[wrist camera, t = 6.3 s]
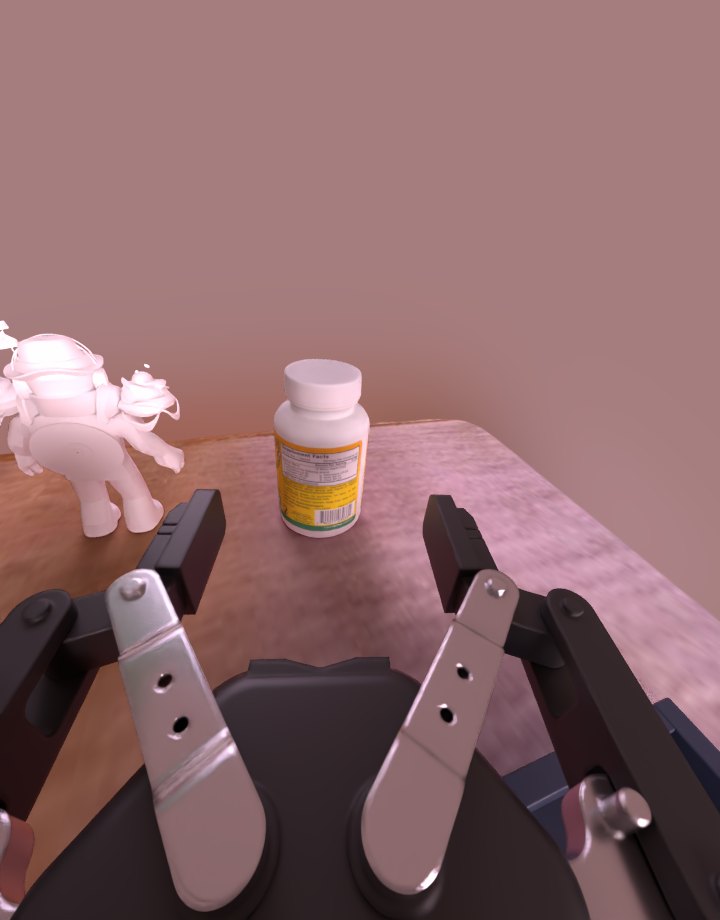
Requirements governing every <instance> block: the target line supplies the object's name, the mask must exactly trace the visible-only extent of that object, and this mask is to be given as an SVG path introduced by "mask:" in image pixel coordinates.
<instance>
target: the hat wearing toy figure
mask: <svg viewBox="0 0 720 920" xmlns="http://www.w3.org/2000/svg"><path fill="white" fill-rule="evenodd" d="M7 328H9V327H8V326H7V324H6V323H5V321H0V330H2V329H7ZM40 335H53V336H40ZM40 335H36V336H39V337H36V336H33V337H31V338H28V339H25V340H23V341H20V342H18V341H17V340H16V339H14V338H12V337H10V336H8V335H6V334H4V333H3V331H2V332H0V349H6V348H12V347H17V349H16V350H15V352H14V350H13V349H12V350H13V352H14V354H15V355H14V354H13V357H12V362H11V363H9V364H8V365H6V366H5V368H4V371H3V372H4V375H5V376H6V377H7V378H9V379H12V381H13V384H12V383H11V382H10V380H9V379H6V378H1V377H0V426H1V423H2V420H3V418H4V417H5V416H11V415H13V414H15V413H17V412H19V413H20V414H19V415H17V416H15V417H14V418H13V419H12V420H11V421H10V422H9V427H8V433H9V434H8V437H7V443H8V447H9V449H10V450H11V451H12V452H13V453H14V454H15V458H16V461H17V463H18V468H19V469H20V470H21V471H22V472H23V473H25V474H27V475H29V476H34V475H35V473H37V474H40V473H42V472H43V471H44V470H43V469H42V468H41V466H40V465H39V464H38V463H40V464H41V465H42V466H43V467H45V468H47V469H49V470H51V471H53V472H56V473H58V474H61V475H65V476H66V479H67V480H70V482H71V485H72V487H73V489H74V491H75V493H76V494H77V496H78V498H79V500H80V512H81V521H82V525H83V531H84V534H85V535H86V536H88V537H100V536H104V535H107V534H109V533H111V532H113V531H114V530H115V529H116V527H117V526H118V522H117V521H118V519H119V518H120V517H121V512H120V510H119V508H118V507H117V506H116V505H115V504H113V503H110V499H109V496H108V493H107V489H106V486H105V481H109V482H110V484H111V485H112V486H113V487H114V488H115V489H116V490H117V491H118V492H119V493H120V494H121V495H122V497H123V508H124V515H125V520H126V526H127V528H128V530H129V531H131V532H134V533H140V532H147V531H149V530H151V529H153V528H154V527H155V526H156V525H157V524H158V523H159V521H160V520H161V518H162V516H163V513H164V510H163V506H162V505H161V503H160V502H159V501H157V500H155V499H152V497H151V494H150V492H149V489H148V487H147V485H146V483H145V481H144V479H143V477H142V475H141V473H140V472H139V470H138V468H137V467H136V465H135V464H134V462H133V461H132V459H131V457H130V456H129V454H128V453H127V450H126V448H125V443H124V438H125V439H126V440H127V442H128V443H130V445H131V446H132V447H133V448H134V449H135V450H137V451H140V452H141V453H144V454H147V455H150V456H154V459H155V461H156V462H157V464H159V465H161V466H165V467H168V468H171V469H173V470H174V471H175V473H179V472H180V470H181V469H182V468H183V467H184V466H185V462H184V453H183V451H182V450H181V449H178V448H175V447H172V446H170V445H168V444H167V443H165V442H164V441H163V440H162V439H161V438H160V437H158V436H157V435H155V434H154V433H152V432H150V431H151V430H152V429H153V428H154V426H155V425H156V423H157V421H158V418H159V415H160V413H161V412H166V413H168V414H169V415H170V416H171V417H172V418H174V419H176V420H178V419H179V418H180V407H179V404H178V400H177V399H176V398H175V397H174V396H173V394H171V393H170V392H168V390H167V389H168V388H169V387H168V386H165V385H166V381H165V380H164V379H153V378H152V376H151V375H150V374H149V373H146V372H138V370H135V374H134V375H133V376H132V380H131V381H127V380H125V379H124V378H122V379H121V382H122V384H123V387H122V389H121V388H120V387H118V386H114V385H112V384H111V383H110V382H108V378H107V375H106V372H105V370H104V368H101V367H102V365H103V357H102V356H100V355H96V354H92V353H91V352H90V350H89V349H87V348H86V347H85V346H84V345H83V344H81V343H80V342H78V341H76V340H74V339H72V338H70V337H67V336H63V335H58V334H40ZM74 341H76V342H77V343H79V344H80V345H82V346H83V347H85V348H86V349H87V350H88V351H89V352H90V353H91V354H89V353H88V352H87V351H86V350H84V349H83V348H81V347H80V346H78V345H76V343H75V342H74ZM79 348H80V349H81V350H83V351H81V350H80V349H79ZM17 352H18V357H17V356H16V354H17ZM16 357H17V359H16ZM13 358H14V362H13ZM145 367H147V368H149V366H148V365H145ZM174 401H176V402H177V407H178V409H177V412H175V413H170V412H168V411H167V410H165V409H166V408H168V407H170V406H171V405H173V404H174ZM156 414H157V416H156V417H155V419H154V420H152V421H151V422H150V423H145V422H144V421H143V419H142V418H141V417H150V416H153V415H156ZM37 462H38V463H37Z"/></svg>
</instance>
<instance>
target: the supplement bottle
mask: <svg viewBox="0 0 720 920" xmlns="http://www.w3.org/2000/svg"><path fill="white" fill-rule="evenodd" d="M361 377H362V376H361V372H360V371H359V369H357V368H356V367H354V366H352V365H350V364H347V363H344V362H340V361H334V360H325V359H308V360H301V361H297V362H293V363H291V364H289V365H288V366H287V367H286V368H285V370H284V391H285V394H286V397H287V399H288V400H287V401H285V402H284V403H283V404H282V405H281V406H280V407H279V408H278V410H277V411H276V413H275V417H274V437H275V453H276V467H277V477H278V493H279V505H280V512H281V516H282V519H283V521H284V522H285V524H286V525H287V526H288V527H289V528H290V529H292V530H293V531H295V532H297V533H299V534H302V535H305V536H308V537H313V538H325V537H332V536H336V535H339V534H341V533H343V532H345V531H347V530H348V529H350V528H351V527H352V526H353V525H354V524H355V523H356V521H357V520H358V518H359V515H360V511H361V504H362V494H363V483H364V474H365V464H366V454H367V445H368V436H369V418H368V415H367V413H366V411H365V410H364V409H363V407H362V406H361V405H360V404H358V403H357V402H358V400H359V397H360V396H361V379H362V378H361Z"/></svg>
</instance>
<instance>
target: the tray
mask: <svg viewBox="0 0 720 920" xmlns="http://www.w3.org/2000/svg"><path fill="white" fill-rule="evenodd" d="M653 707H654V708H655V710H656V712H657V713H658V715H659V716H660V718H661V720H662V721H663V723H664V725H665V726H666V728H667V729H668V731H669V733H670V734H671V736H672V738H673V739H674V741H675V742H676V744H677V746H678V747H679V749H680V751H681V752H682V754H683V755H684V757H685V759H686V760H687V762H688V764H689V765H690V767H691V768H692V770H693V772H694V773H695V775H696V777H697V778H698V780H699V781H700V783H701V785H702V786H703V788H704V789H705V791H706V793H707V794H708V796H709V798H710V799H711V801H712V802H713V804H714V806H715V807H716V809H717V811H718V812H719V814H720V752H719V751H718V749H717V748H716V747H715V746H714V745H713V744H712V743H711V742H710V741H709V740H708V739H707V738H706V737H705V736H704V735H703V733H702V732H701V731H700V730H699V729H698V728H697V727H696V726H695V725H694V724H693V723H692V722H691V721H690V720H689V719H688V718H687V716H686V715H685V714H684V713H683V712H682V711H681V710H680V709H679V708H678V707H677V706H676V705H675V704H674V703H673V702H672V700H671V699H669V698H665V699H663V700H661V701H658V702H656V703H654V704H653ZM502 779H503V780H504V781H505V782H506V783H507V784H508V786H509V787H510V788H511V789H512V790H513V791H514V793H515V794H516V795H517V796H518V797H519V799H520V800H521V801H522V802H523V803H524V804H525V806H526V807H527V808H528V809H529V810H530V811H531V813H532V814H533V815H534V816H535V817H536V818H537V820H538V821H539V822H540V823H541V824H542V826H543V827H544V828H545V829H546V830H547V831H548V833H549V834H550V835H551V836H552V837H553V839H554V840H555V841H556V843H557V844H558V846H559V847H560V849H561V850H562V852H563V853H564V855H565V851H566V833H565V829H564V824H563V820H562V814H561V804H562V799H563V797H564V795H565V794H566V792H567V791H569V787H568V784H567V781H566V779H565V776H564V773H563V771H562V768H561V765H560V763H559V760H558V757H557V755H556V752H555V751H554V752H552V753H550V754H548V755H546V756H544V757H542V758H540V759H538V760H536V761H534V762H532V763H529V764H527V765H525V766H523V767H521V768H519V769H517V770H515V771H513V772H511V773H509V774H507V775H505V776H502Z"/></svg>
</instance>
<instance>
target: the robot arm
mask: <svg viewBox="0 0 720 920" xmlns="http://www.w3.org/2000/svg"><path fill="white" fill-rule="evenodd" d="M225 529H226V520H225V514H224V509H223V504H222V499H221V494H220V491H219V490H217V489H197V490H196V491H195V492H194V494H193V496H192V498H191V499H190V501H189V503H180V504H179V505H177V506H176V507H175V508H174V509H172V510H171V511H170V512H169V513H168V515H167V517H166V518H165V520H164V522H163V523H162V526H161V527H160V528H159V530H158V532H157V535H155V537H154V538H153V540H152V542H151V543H150V545H149V547H148V548H147V550H146V552H145V554H144V555H143V557H142V559H141V560H140V562H139V564H138V565H137V567H136V569H135V570H134V571H131V572H128V573H126V574H124V575H122V576H121V577H119V578H118V579H116V580H115V581H114V582H113V583H112V584H111V585H110V587H109V588H108V590H105V591H101V592H98V593H94V594H90V595H86V596H82V597H78V598H74V599H72V598H71V596H70V595H69V593H68V592H66V591H64V590H60V589H53V590H47V591H43V592H40V593H37V594H35V595H33V596H31V597H29V598H27V599H25V600H24V601H22V602H21V603H20V604H18V605H17V606H16V607H15V608H14V609H13V610H12V611H11V612H10V613H9V614H8V616H7V617H6V618H5V619H4V621H3V622H2V623H1V625H0V920H720V814H719V812H718V811H717V809H716V807H715V806H714V804H713V802H712V801H711V799H710V798H709V796H708V794H707V793H706V791H705V789H704V788H703V786H702V785H701V783H700V781H699V780H698V778H697V777H696V775H695V773H694V772H693V770H692V768H691V767H690V765H689V764H688V762H687V760H686V759H685V757H684V755H683V754H682V752H681V751H680V749H679V747H678V746H677V744H676V742H675V741H674V739H673V738H672V736H671V734H670V733H669V731H668V729H667V728H666V726H665V725H664V723H663V721H662V720H661V718H660V716H659V715H658V713H657V712H656V710H655V708H654V707H653V705H652V703H651V702H650V700H649V699H648V697H647V695H646V694H645V692H644V691H643V689H642V687H641V686H640V684H639V682H638V681H637V679H636V678H635V676H634V674H633V673H632V671H631V669H630V668H629V666H628V665H627V663H626V661H625V660H624V658H623V656H622V655H621V653H620V652H619V650H618V648H617V647H616V645H615V643H614V642H613V640H612V639H611V637H610V635H609V634H608V632H607V630H606V629H605V627H604V626H603V624H602V622H601V621H600V619H599V617H598V616H597V614H596V613H595V611H594V609H593V608H592V607H591V605H590V604H589V603H588V602H587V601H586V600H585V599H584V598H582V597H581V596H580V595H578V594H576V593H574V592H572V591H570V590H566V589H561V588H559V589H553V590H551V591H550V592H549V593H548V595H547V596H546V597H545V596H542V595H538V594H535V593H531V592H527V591H524V590H521V589H519V588H517V586H516V584H515V583H514V582H513V580H512V579H511V578H509V577H508V576H507V575H505V574H504V573H502V572H499V571H498V569H497V566H496V564H495V562H494V560H493V558H492V556H491V554H490V552H489V550H488V548H487V546H486V543H485V541H484V539H482V535H481V533H480V531H479V530H478V527H477V525H476V522H475V520H474V518H473V517H472V516H471V515H470V514H469V513H468V512H467V511H466V510H465V509H464V508H456V506H455V503H454V501H453V499H452V497H451V495H430V497H429V501H428V505H427V509H426V513H425V517H424V522H423V538H424V542H425V546H426V549H427V553H428V556H429V560H430V563H431V567H432V570H433V574H434V577H435V581H436V584H437V588H438V591H439V595H440V598H441V602H442V606H443V609H444V613H455V615H456V617H455V619H453V621H452V623H451V625H450V627H449V629H448V631H447V633H446V636H445V638H444V640H443V642H442V644H441V646H440V648H439V650H438V652H437V654H436V656H435V658H434V660H433V663H432V665H431V667H430V669H429V671H428V673H427V675H426V677H425V679H424V681H423V683H422V685H421V684H420V683H419V682H418V681H417V680H415V679H414V678H412V677H411V676H409V675H408V674H406V673H404V672H402V671H399V670H397V669H394V668H390V661H389V657H355V658H352V659H349V660H346V661H342V662H339V663H336V664H332V665H329V666H326V667H320V668H319V667H314V666H310V665H307V664H303V663H299V662H295V661H291V660H287V659H258V660H250V663H249V668H248V671H246V672H243V673H241V674H238V675H236V676H234V677H232V678H230V679H228V680H227V681H225V682H223V683H222V684H221V685H219V686H218V687H216V688H215V689H214V690H213V691H211V689H210V687H209V684H208V682H207V680H206V678H205V675H204V673H203V671H202V669H201V666H200V664H199V662H198V660H197V657H196V655H195V653H194V651H193V648H192V646H191V644H190V642H189V639H188V637H187V635H186V633H185V630H184V628H183V626H182V624H181V619H182V617H183V615H190V614H196V611H197V609H198V606H199V603H200V600H201V598H202V595H203V592H204V590H205V587H206V584H207V581H208V579H209V576H210V573H211V571H212V568H213V565H214V562H215V560H216V557H217V554H218V551H219V549H220V546H221V543H222V541H223V538H224V535H225ZM504 653H505V654H509V655H512V656H515V657H518V658H521V661H522V664H523V666H524V669H525V672H526V674H527V677H528V680H529V682H530V685H531V688H532V691H533V693H534V696H535V699H536V701H537V704H538V707H539V709H540V712H541V715H542V717H543V720H544V723H545V725H546V728H547V731H548V733H549V736H550V739H551V741H552V744H553V747H554V749H555V752H556V755H557V757H558V760H559V763H560V765H561V768H562V771H563V773H564V776H565V779H566V781H567V784H568V787H569V791H567V792H566V794H565V795H564V797H563V799H562V804H561V814H562V820H563V824H564V829H565V833H566V851H565V855H564V853H563V852H562V850H561V849H560V847H559V846H558V844H557V843H556V841H555V840H554V839H553V837H552V836H551V835H550V834H549V833H548V831H547V830H546V829H545V828H544V827H543V826H542V824H541V823H540V822H539V821H538V820H537V818H536V817H535V816H534V815H533V814H532V813H531V811H530V810H529V809H528V808H527V807H526V806H525V804H524V803H523V802H522V801H521V800H520V799H519V797H518V796H517V795H516V794H515V793H514V791H513V790H512V789H511V788H510V787H509V786H508V784H507V783H506V782H505V781H504V780H503V779H502V777H501V776H500V775H499V774H498V773H497V771H496V770H495V769H494V768H493V767H492V766H491V764H490V763H489V762H488V761H487V760H486V759H485V757H484V756H483V755H482V754H481V753H480V752H479V750H478V749H477V748H476V747H475V746H476V743H477V740H478V737H479V734H480V730H481V727H482V724H483V721H484V717H485V714H486V711H487V708H488V705H489V701H490V698H491V695H492V692H493V689H494V685H495V682H496V679H497V676H498V673H499V669H500V666H501V663H502V660H503V656H504ZM117 661H118V665H119V669H120V672H121V676H122V680H123V683H124V687H125V691H126V695H127V698H128V702H129V706H130V710H131V713H132V717H133V721H134V724H135V728H136V732H137V736H138V739H139V743H140V747H141V750H142V754H143V758H144V762H145V763H144V764H143V765H142V766H141V767H140V768H139V770H138V771H137V772H136V773H135V774H134V775H133V776H132V777H131V778H130V779H129V780H128V781H127V782H126V784H125V785H124V786H123V787H122V788H121V789H120V790H119V791H118V792H117V793H116V794H115V795H114V797H113V798H112V799H111V800H110V801H109V802H108V803H107V804H106V805H105V806H104V807H103V808H102V809H101V811H100V812H99V813H98V814H97V815H96V816H95V817H94V818H93V819H92V820H91V821H90V822H89V824H88V825H87V826H86V827H85V828H84V829H83V830H82V831H81V832H80V833H79V834H78V835H77V836H76V838H75V839H74V840H73V841H72V842H71V843H70V844H69V845H68V846H67V847H66V848H65V849H64V850H63V852H62V853H61V854H60V855H59V856H58V857H57V858H56V859H55V860H54V861H53V862H52V863H51V865H50V866H49V867H48V868H47V869H46V870H45V871H44V872H43V873H42V874H41V876H40V877H39V878H38V879H37V880H36V882H35V883H34V884H33V886H32V887H31V888H30V890H29V891H28V892H27V894H26V895H25V877H26V872H27V869H28V866H29V863H30V860H31V857H32V854H33V849H34V843H35V837H34V831H33V829H32V827H31V826H30V825H29V824H28V823H26V820H27V818H28V816H29V814H30V812H31V810H32V808H33V805H34V803H35V801H36V799H37V797H38V795H39V793H40V791H41V789H42V787H43V785H44V783H45V781H46V778H47V776H48V774H49V772H50V770H51V768H52V766H53V764H54V762H55V760H56V758H57V756H58V754H59V751H60V749H61V747H62V745H63V743H64V741H65V739H66V737H67V735H68V733H69V731H70V729H71V726H72V724H73V722H74V720H75V718H76V716H77V714H78V712H79V710H80V708H81V706H82V704H83V702H84V699H85V697H86V695H87V693H88V691H89V689H90V687H91V685H92V683H93V681H94V679H95V677H96V674H97V672H98V670H99V668H100V667H102V666H105V665H108V664H111V663H114V662H117Z"/></svg>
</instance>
